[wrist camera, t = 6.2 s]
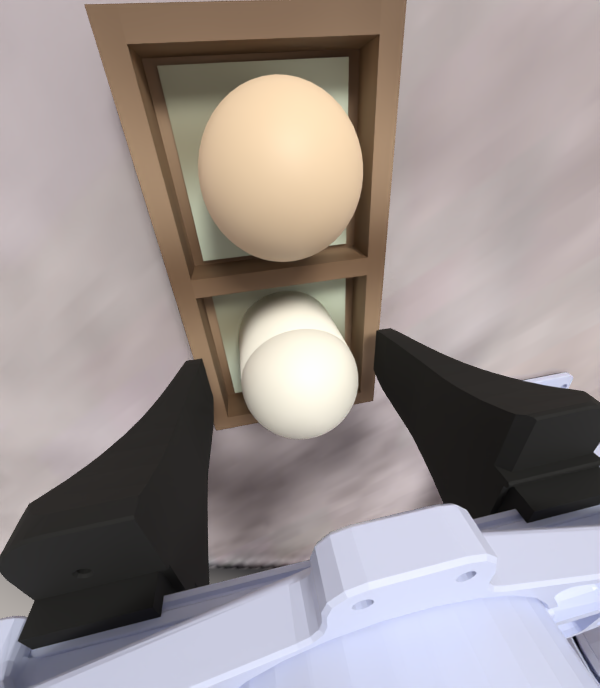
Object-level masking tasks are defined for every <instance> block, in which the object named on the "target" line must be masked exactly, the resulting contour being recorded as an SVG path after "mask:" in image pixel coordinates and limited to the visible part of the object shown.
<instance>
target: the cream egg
mask: <svg viewBox="0 0 600 688" xmlns="http://www.w3.org/2000/svg"><path fill="white" fill-rule="evenodd" d="M239 351H240V369H241V386H242V393H243V397H244V400H245V402H246V405H247V407H248V409H249V411H250V412H251V414H252V415H253V417H254V418H255V419H256V420H257V421H258V422H259V423H260V424H261V425H262V426H263V427H265V428H266V429H267V430H269V431H271V432H272V433H274V434H277V435H279V436H282V437H285V438H290V439H310V438H315V437H318V436H321V435H323V434H325V433H327V432H329V431H331V430H332V429H334V428H335V427H336V426H338V425H339V424H340V423H341V422H342V421H343V420H344V418H345V417H346V416H347V415H348V413H349V412H350V410H351V408H352V406H353V404H354V402H355V399H356V396H357V390H358V370H357V366H356V362H355V359H354V357H353V355H352V353H351V351H350V349H349V347H348V346H347V344H346V342H345V341H344V339H343V337H342V335H341V334H340V332H339V330H338V329H337V327H336V325H335V324H334V322H333V320H332V319H331V317H330V315H329V313H328V312H327V310H326V308H325V307H324V306H323V305H322V304H321V303H320V302H319V301H318V300H317V299H315V298H314V297H312V296H310V295H308V294H306V293H303V292H298V291H280V292H275V293H272V294H269V295H267V296H264V297H263V298H261V299H259V300H258V301H257V302H255V303H254V304H253V305H252V306H251V307H250V308H249V309H248V310H247V312H246V313H245V315H244V317H243V318H242V321H241V323H240V327H239Z"/></svg>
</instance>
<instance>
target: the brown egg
mask: <svg viewBox="0 0 600 688" xmlns="http://www.w3.org/2000/svg"><path fill="white" fill-rule="evenodd" d="M198 177H199V183H200V189H201V193H202V196H203V200H204V202H205V205H206V207H207V210H208V212H209V214H210V216H211V217H212V219H213V221H214V222H215V224H216V225H217V227H218V228H219V229H220V231H221V232H222V233H223V234H224V235H225V236H226V237H227V238H228V239H229V240H230V241H231V242H232V243H234V244H235V245H236V246H237V247H239V248H240V249H242V250H243V251H245V252H247V253H249V254H251V255H253V256H255V257H258V258H261V259H264V260H269V261H276V262H289V261H296V260H301V259H304V258H307V257H310V256H313V255H315V254H317V253H319V252H320V251H322V250H324V249H325V248H327V247H328V246H329V245H330V244H331V243H333V242H334V241H335V240H336V239H337V238H338V237H339V236H340V235H341V233H342V232H343V231H344V229H345V228H346V227H347V225H348V224H349V222H350V220H351V218H352V217H353V214H354V212H355V210H356V208H357V205H358V201H359V198H360V194H361V189H362V182H363V160H362V153H361V148H360V144H359V140H358V137H357V134H356V132H355V129H354V126H353V125H352V123H351V121H350V119H349V117H348V115H347V114H346V112H345V111H344V110H343V108H342V107H341V105H340V104H339V103H338V102H337V101H336V100H335V99H334V98H333V97H332V96H331V95H330V94H328V93H327V92H326V91H325V90H323V89H322V88H320V87H319V86H317V85H315V84H313V83H312V82H310V81H307V80H304V79H302V78H299V77H295V76H290V75H279V74H273V75H266V76H261V77H258V78H255V79H251V80H249V81H247V82H245V83H243V84H241V85H239V86H238V87H237V88H235V89H234V90H233V91H231V92H230V93H229V94H228V95H227V96H226V97H225V98H224V99H223V100H222V101H221V102H220V103H219V105H218V106H217V107H216V109H215V110H214V112H213V113H212V115H211V117H210V119H209V121H208V122H207V124H206V127H205V130H204V133H203V135H202V139H201V144H200V148H199V157H198Z"/></svg>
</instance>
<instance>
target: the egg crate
mask: <svg viewBox="0 0 600 688" xmlns="http://www.w3.org/2000/svg"><path fill="white" fill-rule="evenodd" d="M406 1H407V0H254V1H212V2H169V3H126V4H84V5H85V8H86V11H87V15H88V18H89V21H90V24H91V28H92V31H93V34H94V37H95V40H96V44H97V47H98V50H99V53H100V57H101V60H102V63H103V66H104V70H105V73H106V76H107V79H108V83H109V86H110V89H111V92H112V95H113V99H114V102H115V105H116V108H117V112H118V115H119V118H120V121H121V125H122V128H123V131H124V134H125V137H126V141H127V144H128V147H129V150H130V154H131V157H132V160H133V163H134V167H135V170H136V173H137V176H138V180H139V183H140V186H141V189H142V192H143V196H144V199H145V202H146V205H147V209H148V212H149V215H150V218H151V222H152V225H153V228H154V231H155V235H156V238H157V241H158V244H159V247H160V251H161V254H162V257H163V260H164V264H165V267H166V270H167V273H168V277H169V280H170V283H171V286H172V290H173V293H174V296H175V299H176V302H177V306H178V309H179V312H180V315H181V319H182V322H183V325H184V328H185V332H186V335H187V338H188V341H189V345H190V348H191V351H192V354H193V357H194V360H195V359H201V358H202V360H203V363H204V367H205V370H206V374H207V377H208V380H209V384H210V387H211V391H212V394H213V400H214V425H215V429H216V430H222V429H227V428H232V427H238V426H243V425H248V424H253V423H259V422H258V421H257V420H256V419H255V418H254V417H253V415H252V414H251V412H250V411H249V409H248V407H247V405H246V402H245V400H244V397H243V393H242V386H241V369H240V351H239V327H240V323H241V321H242V318H243V317H244V315H245V313H246V312H247V310H248V309H249V308H250V307H251V306H252V305H253V304H254V303H255V302H257V301H258V300H259V299H261V298H263V297H264V296H267V295H269V294H272V293H275V292H280V291H298V292H303V293H306V294H308V295H310V296H312V297H314V298H315V299H317V300H318V301H319V302H320V303H321V304H322V305H323V306H324V307H325V308H326V310H327V312H328V313H329V315H330V317H331V319H332V320H333V322H334V324H335V325H336V327H337V329H338V330H339V332H340V334H341V335H342V337H343V339H344V341H345V342H346V344H347V346H348V347H349V349H350V351H351V353H352V355H353V357H354V359H355V362H356V366H357V370H358V390H357V396H356V399H355V402H354V404H359V403H364V402H370V401H373V396H374V384H375V372H374V370H373V367H374V354H375V341H376V330H379V324H380V312H381V300H382V288H383V276H384V264H385V252H386V240H387V228H388V216H389V204H390V192H391V181H392V169H393V157H394V145H395V133H396V121H397V109H398V97H399V85H400V73H401V61H402V49H403V37H404V25H405V13H406ZM273 74H279V75H290V76H295V77H299V78H302V79H304V80H307V81H310V82H312V83H313V84H315V85H317V86H319V87H320V88H322V89H323V90H325V91H326V92H327V93H328V94H330V95H331V96H332V97H333V98H334V99H335V100H336V101H337V102H338V103H339V104H340V105H341V107H342V108H343V110H344V111H345V112H346V114H347V115H348V117H349V119H350V121H351V123H352V125H353V126H354V129H355V132H356V134H357V137H358V140H359V144H360V148H361V153H362V160H363V182H362V189H361V194H360V198H359V201H358V205H357V208H356V210H355V212H354V214H353V217H352V218H351V220H350V222H349V224H348V225H347V227H346V228H345V229H344V231H343V232H342V233H341V235H340V236H339V237H338V238H337V239H336V240H335V241H334V242H333V243H331V244H330V245H329V246H328V247H327V248H325V249H324V250H322V251H320V252H319V253H317V254H315V255H313V256H310V257H307V258H304V259H301V260H296V261H289V262H276V261H269V260H264V259H261V258H258V257H255V256H253V255H251V254H249V253H247V252H245V251H243V250H242V249H240V248H239V247H237V246H236V245H235V244H234V243H232V242H231V241H230V240H229V239H228V238H227V237H226V236H225V235H224V234H223V233H222V232H221V231H220V229H219V228H218V227H217V225H216V224H215V222H214V221H213V219H212V217H211V216H210V214H209V212H208V210H207V207H206V205H205V202H204V200H203V196H202V193H201V189H200V183H199V177H198V157H199V148H200V144H201V139H202V135H203V133H204V130H205V127H206V124H207V122H208V121H209V119H210V117H211V115H212V113H213V112H214V110H215V109H216V107H217V106H218V105H219V103H220V102H221V101H222V100H223V99H224V98H225V97H226V96H227V95H228V94H229V93H230V92H231V91H233V90H234V89H235V88H237V87H238V86H239V85H241V84H243V83H245V82H247V81H249V80H251V79H255V78H258V77H261V76H266V75H273ZM354 404H353V405H354Z"/></svg>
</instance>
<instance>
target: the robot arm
mask: <svg viewBox="0 0 600 688" xmlns="http://www.w3.org/2000/svg"><path fill="white" fill-rule="evenodd" d="M373 370H374V372H375V374H376V376H377V379H378V381H379V383H380V385H381V387H382V389H383V391H384V392H385V394H386V396H387V397H388V399H389V400H390V402H391V403H392V405H393V407H394V408H395V410H396V411H397V413H398V414H399V416H400V417H401V419H402V420H403V422H404V424H405V425H406V427H407V428H408V430H409V432H410V433H411V435H412V437H413V439H414V440H415V442H416V444H417V446H418V448H419V450H420V452H421V454H422V456H423V459H424V461H425V463H426V465H427V467H428V469H429V471H430V473H431V476H432V478H433V480H434V482H435V485H436V487H437V489H438V491H439V494H440V496H441V498H442V501H443V503H444V504H437V505H431V506H427V507H423V508H419V509H415V510H410V511H406V512H402V513H398V514H394V515H389V516H385V517H381V518H377V519H373V520H368V521H364V522H360V523H356V524H352V525H348V526H345V527H343V528H340V529H337V530H335V531H332V532H330V533H329V534H327V535H326V536H325V537H324V538H322V539H321V540H320V541H318V542H317V544H316V545H315V547H314V550H313V552H312V554H311V557H310V560H307V561H303V562H299V563H295V564H291V565H287V566H282V567H278V568H274V569H270V570H266V571H262V572H258V573H254V574H250V575H246V576H242V577H238V578H234V579H230V580H226V581H222V582H218V583H214V584H210V585H209V564H208V511H207V497H208V468H209V459H210V451H211V442H212V433H213V424H214V400H213V394H212V391H211V387H210V384H209V380H208V377H207V374H206V370H205V367H204V363H203V360H202V358H201V359H195V360H189V361H186V362H185V363H184V365H183V366H182V367H181V369H180V370H179V372H178V373H177V374H176V376H175V377H174V379H173V380H172V381H171V383H170V384H169V385H168V387H167V388H166V389H165V391H164V392H163V393H162V395H161V396H160V397H159V399H158V400H157V401H156V402H155V403H154V404H153V406H152V407H151V408H150V409H149V410H148V412H147V413H146V414H145V415H144V416H143V417H142V418H141V419H140V420H139V421H138V422H137V423H136V424H135V425H134V426H133V427H132V428H131V429H130V430H129V431H128V432H127V433H126V434H125V435H124V436H123V437H121V438H120V439H119V440H118V441H117V442H116V443H114V444H113V445H112V446H111V447H110V448H109V449H107V450H106V451H105V452H104V453H103V454H101V455H100V456H99V457H98V458H96V459H95V460H94V461H92V462H91V463H90V464H88V465H87V466H86V467H84V468H83V469H82V470H80V471H79V472H77V473H76V474H75V475H73V476H72V477H70V478H69V479H67V480H66V481H64V482H63V483H61V484H60V485H58V486H57V487H55V488H54V489H52V490H50V491H49V492H47V493H46V494H44V495H43V496H41V497H40V498H38V499H36V500H35V501H33V502H31V503H30V504H29V505H28V507H27V508H26V510H25V512H24V514H23V515H22V517H21V519H20V521H19V522H18V524H17V526H16V528H15V530H14V531H13V533H12V535H11V537H10V539H9V541H8V542H7V544H6V546H5V548H4V550H3V551H2V553H1V555H0V572H1V574H2V575H3V576H4V577H5V578H6V579H7V580H8V581H9V582H10V583H12V584H13V585H15V586H16V587H17V588H18V589H20V590H21V591H23V592H24V593H25V594H27V595H28V596H29V597H31V598H32V599H33V600H35V601H34V604H33V606H32V609H31V611H30V613H29V616H28V617H25V616H12V617H6V618H2V619H0V688H600V402H599V401H597V400H596V399H594V398H593V397H592V396H590V395H589V394H588V393H586V392H584V391H579V390H572V389H568V388H569V386H570V384H571V382H572V380H573V376H572V375H570V374H569V373H567V372H565V373H559V374H554V375H549V376H544V377H539V378H533V379H528V380H523V381H522V380H518V379H514V378H510V377H506V376H503V375H499V374H496V373H492V372H489V371H486V370H482V369H480V368H477V367H474V366H471V365H468V364H466V363H463V362H460V361H458V360H455V359H453V358H451V357H448V356H446V355H444V354H442V353H439V352H437V351H435V350H433V349H431V348H429V347H427V346H425V345H423V344H421V343H419V342H417V341H415V340H413V339H411V338H409V337H407V336H406V335H404V334H402V333H400V332H398V331H395V330H393V329H391V328H389V329H382V330H376V341H375V354H374V367H373Z"/></svg>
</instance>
